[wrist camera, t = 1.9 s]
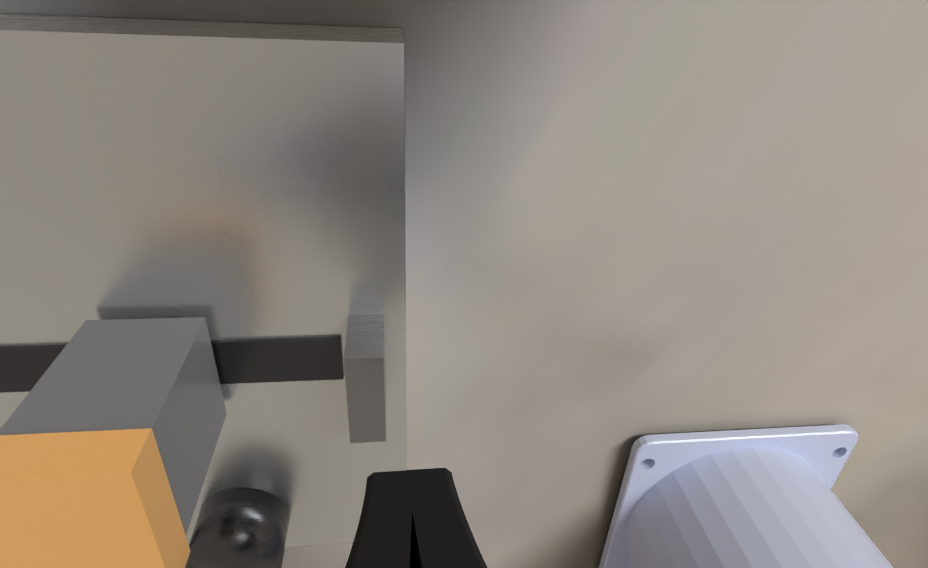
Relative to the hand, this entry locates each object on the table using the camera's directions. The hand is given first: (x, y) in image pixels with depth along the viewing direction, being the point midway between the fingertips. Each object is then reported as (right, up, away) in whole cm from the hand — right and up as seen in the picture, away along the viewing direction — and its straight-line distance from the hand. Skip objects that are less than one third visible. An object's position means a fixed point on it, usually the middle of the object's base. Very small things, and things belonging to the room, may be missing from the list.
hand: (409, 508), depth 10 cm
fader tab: (-6, +2, +3) cm, 7 cm away
